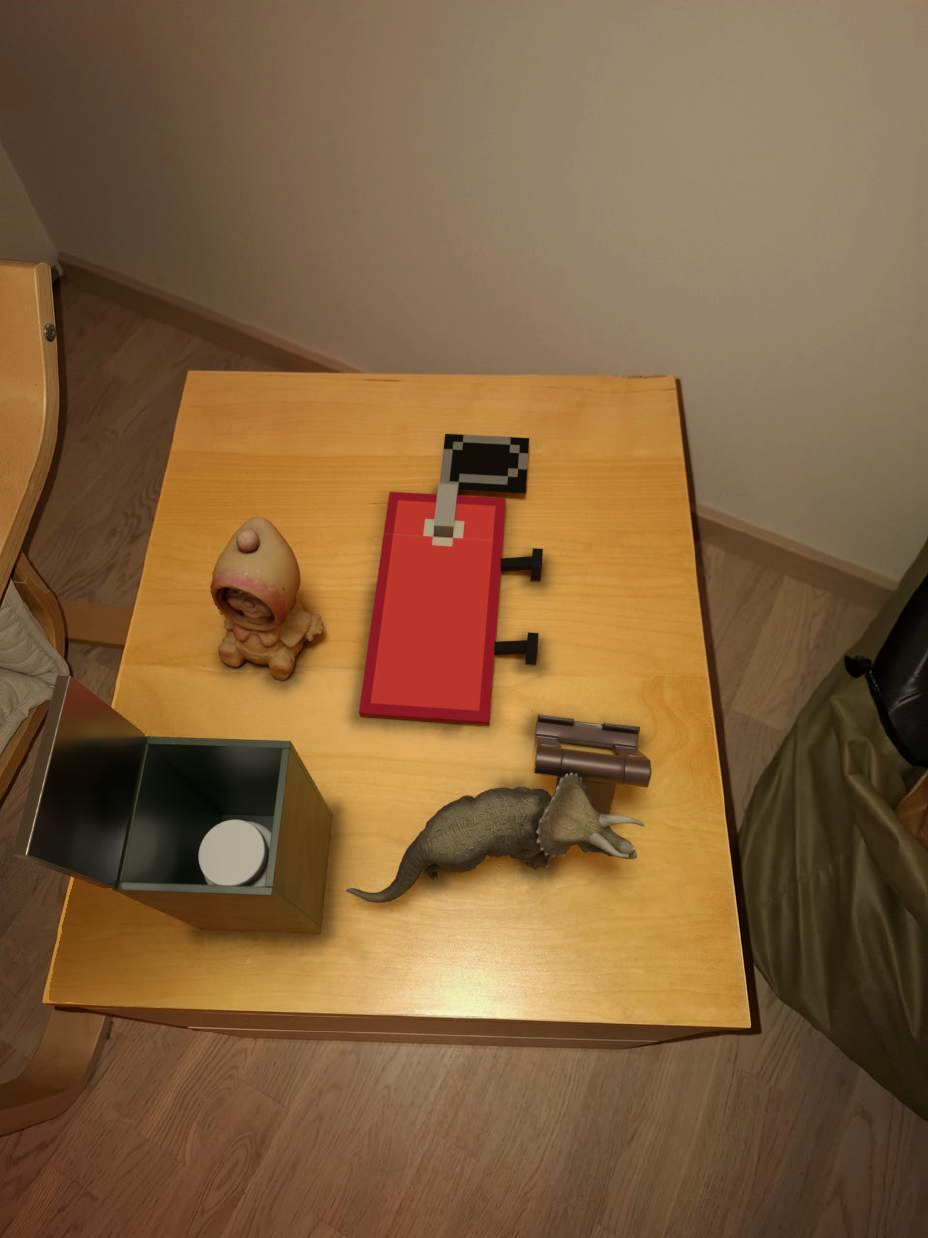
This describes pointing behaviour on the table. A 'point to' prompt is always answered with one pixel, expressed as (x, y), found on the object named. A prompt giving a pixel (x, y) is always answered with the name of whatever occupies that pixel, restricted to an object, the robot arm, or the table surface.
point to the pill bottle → (235, 854)
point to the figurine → (261, 600)
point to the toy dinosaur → (507, 833)
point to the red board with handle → (446, 589)
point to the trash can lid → (80, 787)
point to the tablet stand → (591, 756)
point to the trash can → (208, 795)
